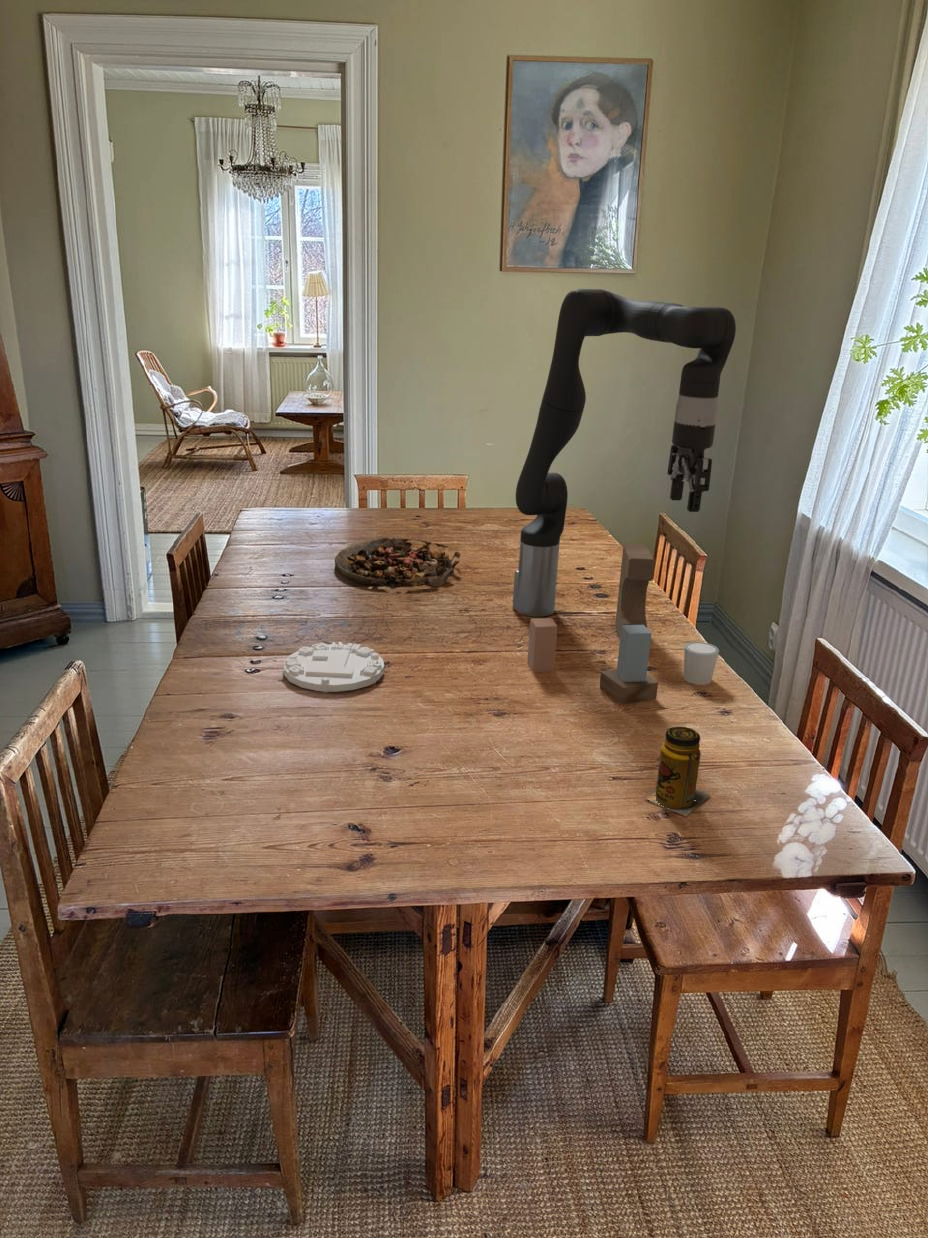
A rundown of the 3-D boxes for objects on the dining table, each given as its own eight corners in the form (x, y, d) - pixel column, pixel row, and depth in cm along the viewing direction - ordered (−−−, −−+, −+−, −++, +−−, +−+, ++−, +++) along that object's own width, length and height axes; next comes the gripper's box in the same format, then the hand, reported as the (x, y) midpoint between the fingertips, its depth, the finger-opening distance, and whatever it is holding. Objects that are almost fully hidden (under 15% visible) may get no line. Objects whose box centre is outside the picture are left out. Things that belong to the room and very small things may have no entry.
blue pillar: (623, 681, 181) (628, 633, 178) (616, 672, 185) (621, 625, 182) (645, 681, 182) (651, 633, 179) (638, 672, 186) (643, 624, 183)
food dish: (484, 582, 248) (485, 554, 245) (373, 605, 231) (373, 575, 228) (414, 543, 275) (415, 517, 271) (310, 561, 257) (310, 534, 254)
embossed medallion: (264, 683, 184) (264, 669, 183) (315, 647, 201) (315, 635, 200) (355, 703, 177) (355, 689, 176) (400, 664, 195) (400, 651, 194)
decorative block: (645, 646, 208) (655, 560, 201) (619, 644, 208) (628, 558, 201) (639, 627, 219) (648, 545, 211) (614, 626, 219) (623, 543, 212)
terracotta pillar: (532, 672, 193) (535, 626, 189) (527, 663, 197) (530, 618, 194) (553, 671, 194) (557, 626, 190) (548, 662, 198) (551, 618, 194)
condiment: (644, 800, 149) (652, 733, 145) (670, 780, 155) (679, 715, 151) (685, 818, 145) (695, 749, 140) (710, 796, 151) (721, 730, 147)
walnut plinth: (621, 707, 180) (623, 688, 179) (599, 689, 187) (601, 671, 186) (655, 700, 184) (658, 682, 182) (633, 684, 190) (635, 666, 189)
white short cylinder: (715, 675, 195) (720, 644, 193) (712, 688, 189) (717, 656, 186) (682, 669, 197) (686, 639, 195) (678, 682, 191) (682, 651, 188)
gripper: (661, 413, 180) (652, 496, 186) (691, 427, 167) (680, 515, 173) (698, 414, 182) (688, 496, 187) (730, 427, 169) (718, 515, 174)
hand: (684, 505), depth 180 cm, fingers open, 8 cm apart
